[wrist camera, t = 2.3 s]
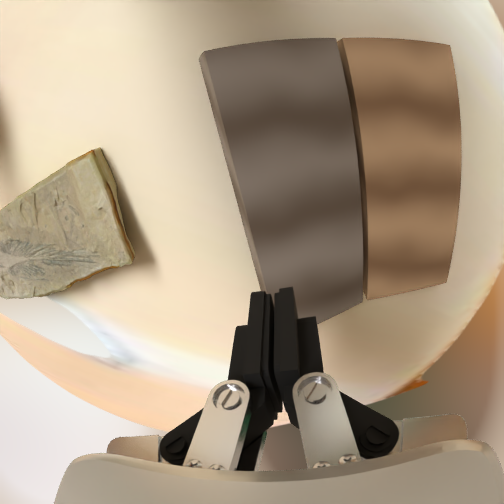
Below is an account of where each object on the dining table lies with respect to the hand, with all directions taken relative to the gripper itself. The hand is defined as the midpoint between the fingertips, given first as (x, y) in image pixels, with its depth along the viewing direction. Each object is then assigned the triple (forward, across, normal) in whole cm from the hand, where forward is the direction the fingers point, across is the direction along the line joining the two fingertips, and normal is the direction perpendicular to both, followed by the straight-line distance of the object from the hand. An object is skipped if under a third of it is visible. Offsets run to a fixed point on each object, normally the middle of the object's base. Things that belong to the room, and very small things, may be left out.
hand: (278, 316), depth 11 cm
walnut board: (+13, -11, -1) cm, 17 cm away
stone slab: (+13, +28, -2) cm, 31 cm away
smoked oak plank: (+11, -2, -1) cm, 11 cm away
